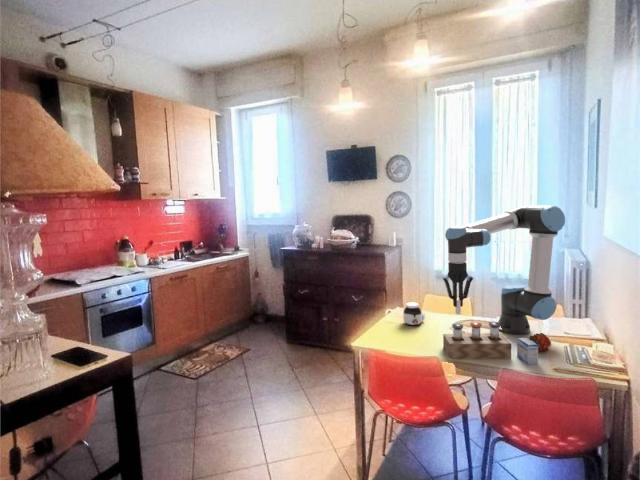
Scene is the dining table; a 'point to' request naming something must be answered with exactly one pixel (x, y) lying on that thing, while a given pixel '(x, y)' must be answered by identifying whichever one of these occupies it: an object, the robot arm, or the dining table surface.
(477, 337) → the plunger
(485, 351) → the block
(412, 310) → the spread jar
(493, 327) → the plunger
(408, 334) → the dining table surface
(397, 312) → the dining table surface
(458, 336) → the plunger
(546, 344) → the dragon fruit
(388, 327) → the dining table surface
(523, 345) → the medicine box
